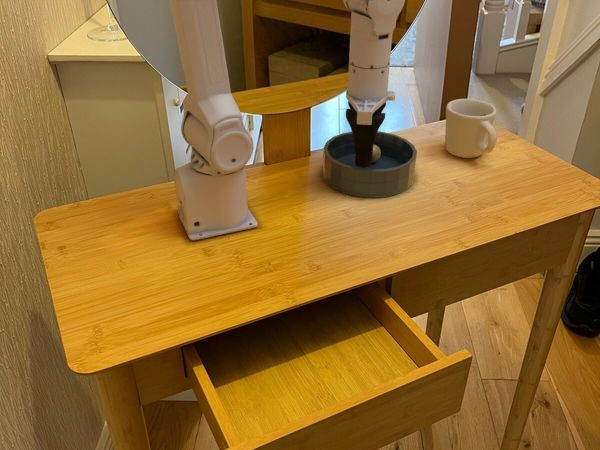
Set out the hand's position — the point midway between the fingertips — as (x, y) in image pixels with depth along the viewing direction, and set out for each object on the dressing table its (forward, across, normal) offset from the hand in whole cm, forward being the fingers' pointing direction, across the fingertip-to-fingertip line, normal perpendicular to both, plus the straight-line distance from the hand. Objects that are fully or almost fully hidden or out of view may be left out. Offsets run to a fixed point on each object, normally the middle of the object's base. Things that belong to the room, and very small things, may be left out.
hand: (363, 150), depth 95 cm
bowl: (+5, +1, -1) cm, 5 cm away
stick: (+2, 0, 0) cm, 2 cm away
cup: (+5, +11, -17) cm, 21 cm away
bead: (+3, +5, -1) cm, 6 cm away
